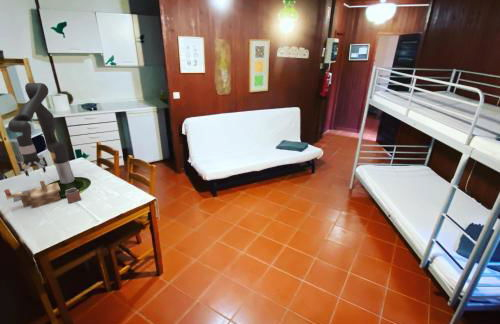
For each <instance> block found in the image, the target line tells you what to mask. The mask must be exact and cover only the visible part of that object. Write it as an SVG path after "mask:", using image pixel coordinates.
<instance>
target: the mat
mask: <svg viewBox="0 0 500 324" xmlns="http://www.w3.org/2000/svg"><path fill="white" fill-rule="evenodd" d="M29 190H30V189H28V190H23V191H21V192H22V193H23V194H25V193H28V192H29ZM12 199H13V202H18V201H21V198H20V196H19V197H15V198H12Z"/></svg>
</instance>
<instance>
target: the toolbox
mask: <svg viewBox="0 0 500 324" xmlns="http://www.w3.org/2000/svg"><path fill="white" fill-rule="evenodd" d="M59 192H60V191H58V192H54V193H51V194H47V195H43V196H40V197H36V198H33V199H32V198H31V195H30V191H29V192H28V193H25V194H23V196H20V198H21V200H20V201H21V203H22V205H23V207H24V208H27V207H31V209H35V208H38V207H42V206H45V205H49V204H52V203H56V202H59V201H61V200H62V198H61V195H60V193H59Z"/></svg>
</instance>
